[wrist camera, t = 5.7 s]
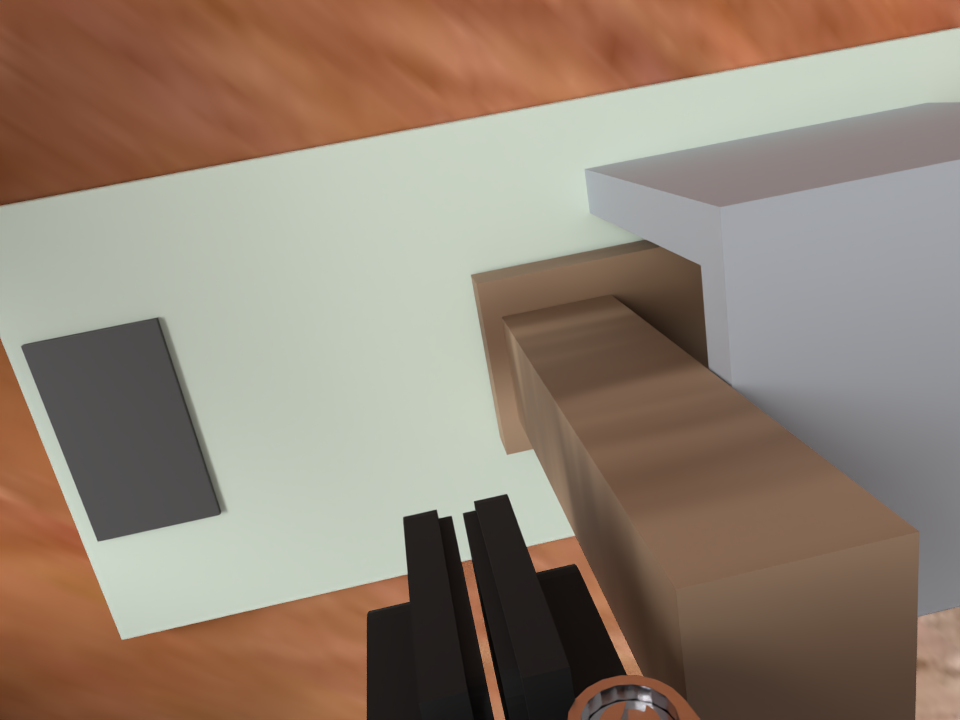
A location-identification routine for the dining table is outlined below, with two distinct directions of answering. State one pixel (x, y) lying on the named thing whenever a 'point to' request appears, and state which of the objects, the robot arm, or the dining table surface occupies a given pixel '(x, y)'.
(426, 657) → the robot arm
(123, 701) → the dining table surface
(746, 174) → the tunnel
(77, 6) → the dining table surface
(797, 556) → the sled
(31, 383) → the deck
